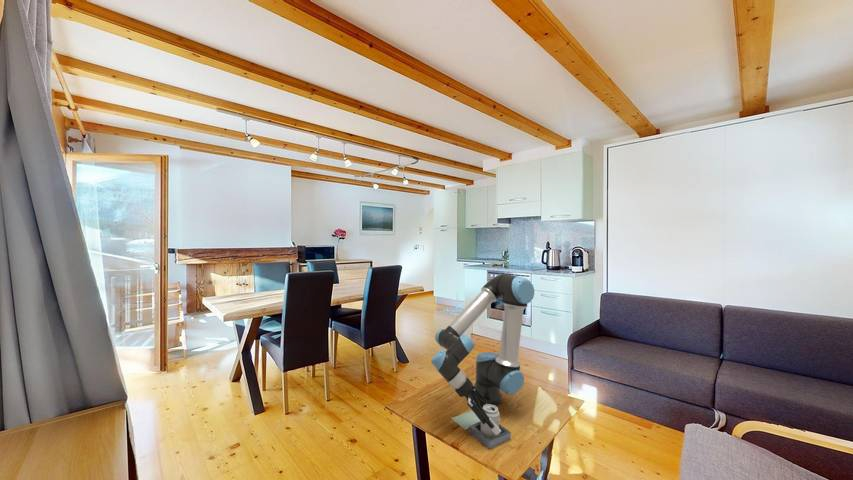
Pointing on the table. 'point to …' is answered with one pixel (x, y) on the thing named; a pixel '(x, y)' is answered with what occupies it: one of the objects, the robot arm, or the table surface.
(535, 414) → the table surface
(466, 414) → the mat
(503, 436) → the holder
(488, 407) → the can
